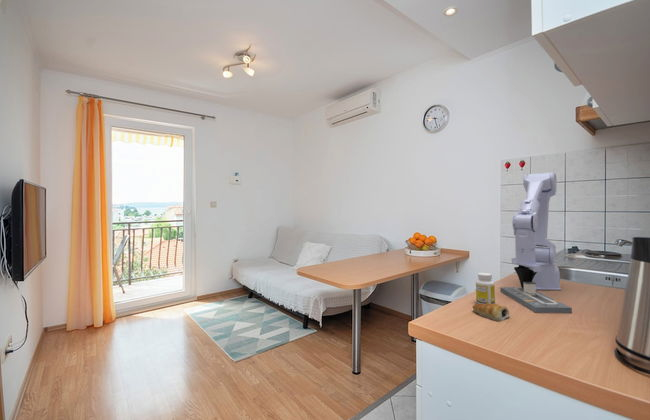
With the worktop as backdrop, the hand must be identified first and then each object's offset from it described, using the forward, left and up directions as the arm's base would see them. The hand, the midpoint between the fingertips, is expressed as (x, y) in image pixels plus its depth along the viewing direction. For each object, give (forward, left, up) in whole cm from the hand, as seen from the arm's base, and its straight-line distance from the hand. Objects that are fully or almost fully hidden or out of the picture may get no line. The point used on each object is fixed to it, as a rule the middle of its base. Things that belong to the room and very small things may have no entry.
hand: (525, 288), depth 103 cm
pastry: (+19, +17, -4) cm, 26 cm away
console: (0, +4, -3) cm, 5 cm away
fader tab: (0, +2, -1) cm, 3 cm away
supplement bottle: (+16, +7, -3) cm, 18 cm away
